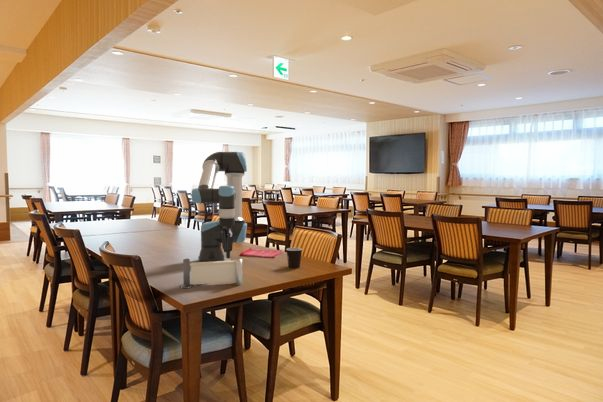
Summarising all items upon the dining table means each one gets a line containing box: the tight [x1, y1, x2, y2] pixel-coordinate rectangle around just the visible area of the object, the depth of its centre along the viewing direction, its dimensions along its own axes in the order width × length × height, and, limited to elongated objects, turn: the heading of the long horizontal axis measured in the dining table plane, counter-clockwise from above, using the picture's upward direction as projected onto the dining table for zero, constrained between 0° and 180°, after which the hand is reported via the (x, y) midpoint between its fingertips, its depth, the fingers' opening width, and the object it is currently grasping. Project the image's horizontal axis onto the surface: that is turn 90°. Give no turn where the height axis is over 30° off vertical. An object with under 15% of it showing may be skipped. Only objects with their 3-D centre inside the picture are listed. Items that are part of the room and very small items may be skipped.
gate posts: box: [179, 258, 243, 289], centre depth 183 cm, size 28×7×12 cm, turn 105°
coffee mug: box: [286, 247, 303, 269], centre depth 221 cm, size 12×9×10 cm
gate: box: [182, 258, 237, 286], centre depth 184 cm, size 25×3×12 cm, turn 104°
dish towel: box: [239, 247, 283, 259], centre depth 253 cm, size 17×24×3 cm
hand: (227, 264), depth 197 cm, fingers closed
